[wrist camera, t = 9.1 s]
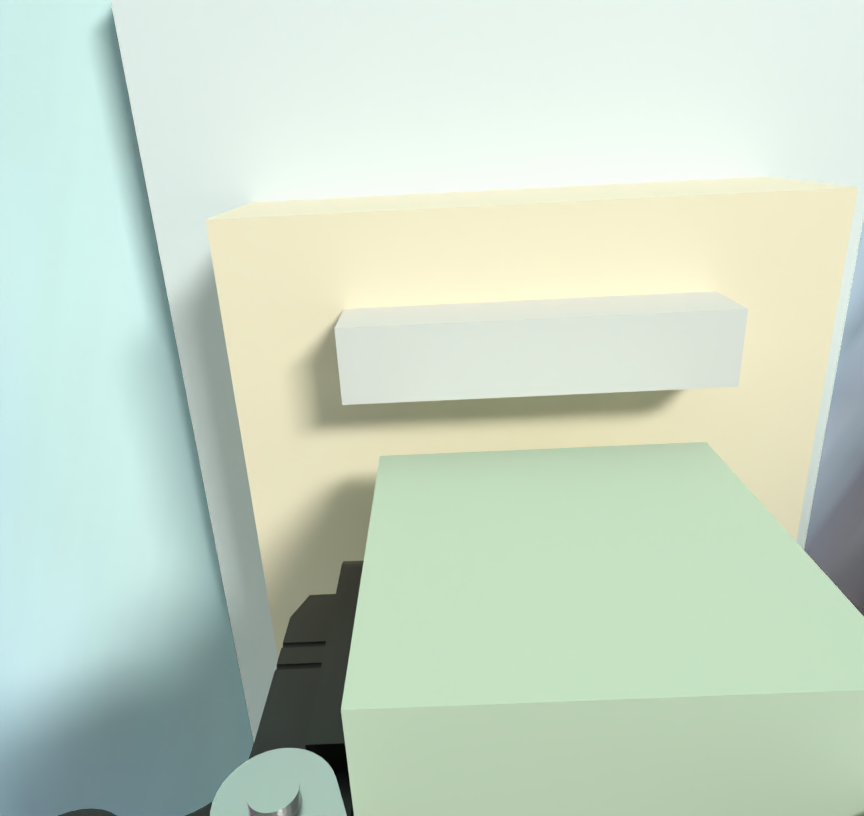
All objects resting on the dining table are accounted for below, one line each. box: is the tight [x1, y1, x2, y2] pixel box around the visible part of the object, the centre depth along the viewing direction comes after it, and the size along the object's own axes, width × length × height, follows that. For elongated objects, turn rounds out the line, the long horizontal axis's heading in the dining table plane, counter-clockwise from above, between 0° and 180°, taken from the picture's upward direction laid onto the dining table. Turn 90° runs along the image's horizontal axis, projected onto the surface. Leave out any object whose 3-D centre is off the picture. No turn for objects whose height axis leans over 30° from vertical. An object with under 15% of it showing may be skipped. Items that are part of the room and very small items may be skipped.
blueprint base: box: [110, 0, 864, 742], centre depth 14 cm, size 14×20×5 cm
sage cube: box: [341, 442, 864, 816], centre depth 9 cm, size 5×5×5 cm
